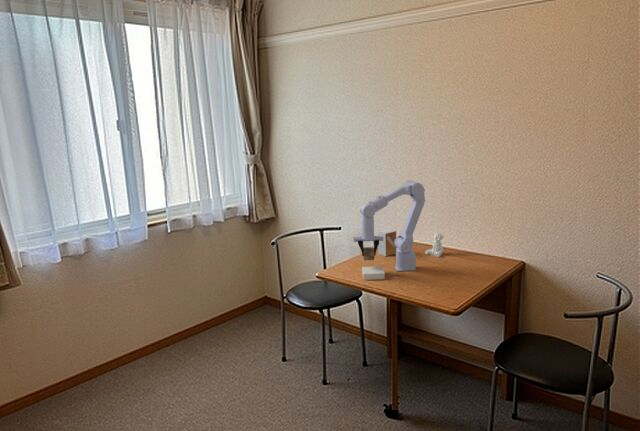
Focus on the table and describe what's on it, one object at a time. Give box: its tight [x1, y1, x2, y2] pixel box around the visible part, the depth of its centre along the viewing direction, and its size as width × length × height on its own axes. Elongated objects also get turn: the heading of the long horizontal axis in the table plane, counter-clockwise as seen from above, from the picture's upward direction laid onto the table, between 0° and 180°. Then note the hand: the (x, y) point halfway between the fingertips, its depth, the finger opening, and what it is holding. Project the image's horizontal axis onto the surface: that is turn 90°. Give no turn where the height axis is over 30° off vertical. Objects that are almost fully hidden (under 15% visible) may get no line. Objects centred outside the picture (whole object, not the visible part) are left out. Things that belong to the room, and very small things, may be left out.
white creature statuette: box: [424, 232, 444, 258], centre depth 253 cm, size 10×9×12 cm
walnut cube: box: [362, 246, 375, 261], centre depth 229 cm, size 5×5×5 cm
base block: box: [361, 265, 386, 281], centre depth 226 cm, size 10×10×3 cm
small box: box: [377, 228, 397, 257], centre depth 258 cm, size 8×6×13 cm
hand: (368, 255), depth 229 cm, fingers closed on walnut cube, 5 cm apart
